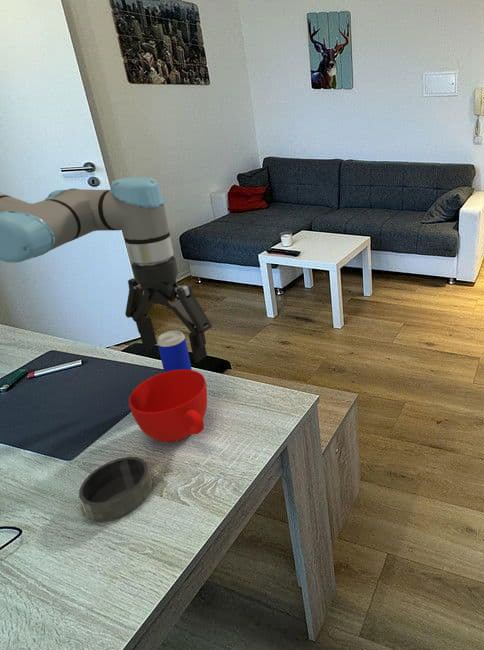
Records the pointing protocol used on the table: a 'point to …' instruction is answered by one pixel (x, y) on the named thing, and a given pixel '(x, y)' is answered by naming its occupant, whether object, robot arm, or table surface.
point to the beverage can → (173, 351)
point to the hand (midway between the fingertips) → (175, 352)
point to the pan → (115, 489)
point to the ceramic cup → (170, 405)
